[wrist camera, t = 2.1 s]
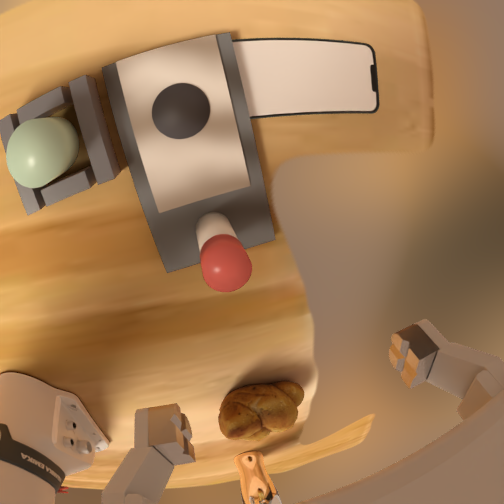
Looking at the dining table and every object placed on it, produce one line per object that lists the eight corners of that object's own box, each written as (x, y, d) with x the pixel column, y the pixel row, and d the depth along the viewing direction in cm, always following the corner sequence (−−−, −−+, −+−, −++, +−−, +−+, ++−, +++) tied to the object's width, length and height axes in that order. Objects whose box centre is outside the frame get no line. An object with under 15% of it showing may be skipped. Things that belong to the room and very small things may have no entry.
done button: (86, 163, 21) (71, 172, 18) (38, 184, 21) (18, 198, 17) (70, 107, 19) (52, 106, 15) (22, 131, 18) (-1, 137, 15)
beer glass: (270, 449, 52) (292, 511, 38) (256, 463, 54) (275, 521, 41) (238, 449, 49) (258, 516, 36) (226, 464, 51) (242, 525, 38)
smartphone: (226, 122, 25) (377, 113, 28) (227, 122, 25) (379, 114, 27) (216, 41, 22) (371, 44, 24) (217, 39, 21) (374, 44, 24)
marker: (235, 239, 29) (256, 283, 22) (200, 249, 29) (210, 297, 22) (226, 206, 27) (246, 242, 20) (190, 217, 27) (196, 257, 20)
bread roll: (299, 365, 41) (321, 407, 34) (297, 402, 45) (314, 440, 38) (210, 385, 39) (220, 433, 32) (220, 420, 43) (230, 462, 36)
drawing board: (272, 235, 31) (276, 241, 30) (167, 268, 30) (167, 274, 28) (227, 35, 21) (230, 31, 20) (104, 69, 20) (100, 67, 19)
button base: (120, 171, 24) (114, 178, 22) (40, 205, 23) (27, 215, 21) (94, 78, 20) (85, 74, 18) (12, 119, 19) (-3, 122, 17)
